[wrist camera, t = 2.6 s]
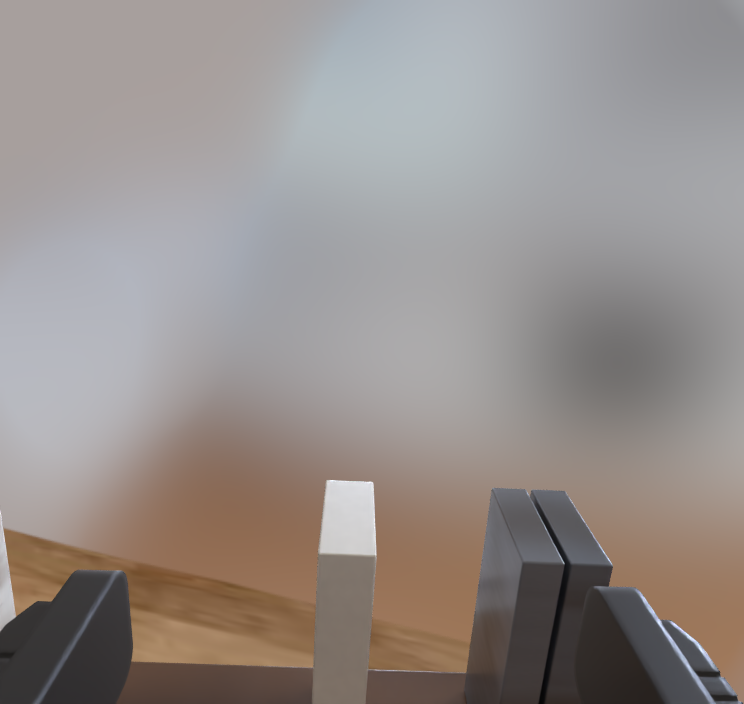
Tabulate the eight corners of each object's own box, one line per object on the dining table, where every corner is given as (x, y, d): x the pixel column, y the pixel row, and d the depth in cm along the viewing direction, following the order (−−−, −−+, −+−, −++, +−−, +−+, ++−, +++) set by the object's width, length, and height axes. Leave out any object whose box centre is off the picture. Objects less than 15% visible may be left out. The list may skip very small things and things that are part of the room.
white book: (358, 791, 23) (376, 556, 20) (308, 790, 23) (317, 553, 20) (359, 685, 28) (373, 481, 25) (317, 684, 28) (326, 479, 25)
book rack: (574, 842, 23) (634, 585, 19) (-137, 826, 22) (-212, 552, 18) (525, 690, 29) (563, 478, 26) (-20, 672, 28) (-59, 450, 25)
